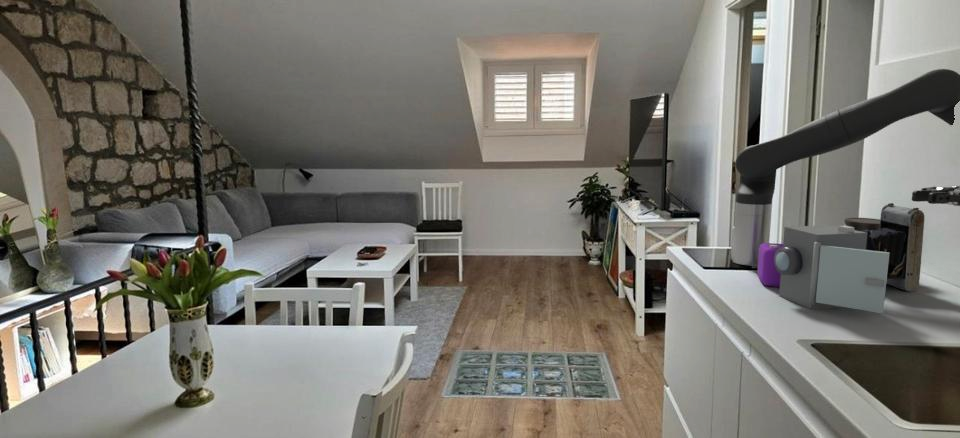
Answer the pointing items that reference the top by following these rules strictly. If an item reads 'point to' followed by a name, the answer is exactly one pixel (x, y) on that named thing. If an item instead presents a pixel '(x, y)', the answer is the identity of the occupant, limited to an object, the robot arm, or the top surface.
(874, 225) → the coffee can
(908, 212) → the vintage camera
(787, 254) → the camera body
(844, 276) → the side door
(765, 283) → the toy camera
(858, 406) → the top surface
